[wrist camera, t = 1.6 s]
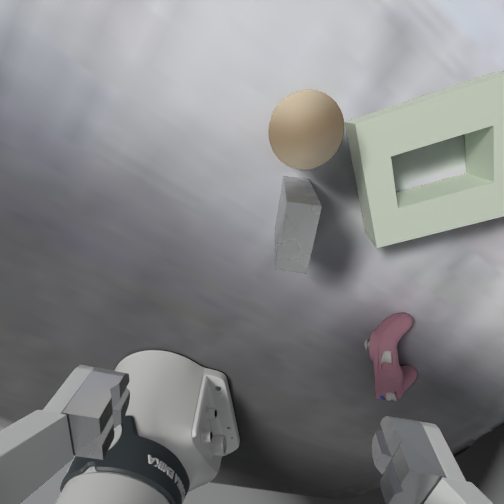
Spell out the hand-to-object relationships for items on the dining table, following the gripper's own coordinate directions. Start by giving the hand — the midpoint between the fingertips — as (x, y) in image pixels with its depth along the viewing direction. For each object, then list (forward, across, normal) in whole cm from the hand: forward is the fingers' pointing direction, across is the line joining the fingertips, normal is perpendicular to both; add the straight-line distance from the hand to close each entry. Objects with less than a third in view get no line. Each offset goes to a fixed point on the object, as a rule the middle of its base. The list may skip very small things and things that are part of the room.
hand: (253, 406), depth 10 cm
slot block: (+24, -13, -6) cm, 28 cm away
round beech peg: (+24, -1, -7) cm, 25 cm away
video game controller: (+24, -17, +15) cm, 33 cm away
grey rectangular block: (+24, -2, 0) cm, 24 cm away
